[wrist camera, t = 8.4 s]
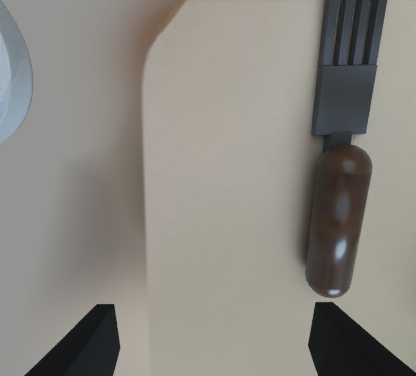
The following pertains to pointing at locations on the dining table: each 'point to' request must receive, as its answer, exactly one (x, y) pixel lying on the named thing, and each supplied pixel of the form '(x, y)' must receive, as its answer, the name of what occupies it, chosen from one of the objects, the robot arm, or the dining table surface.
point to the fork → (342, 143)
